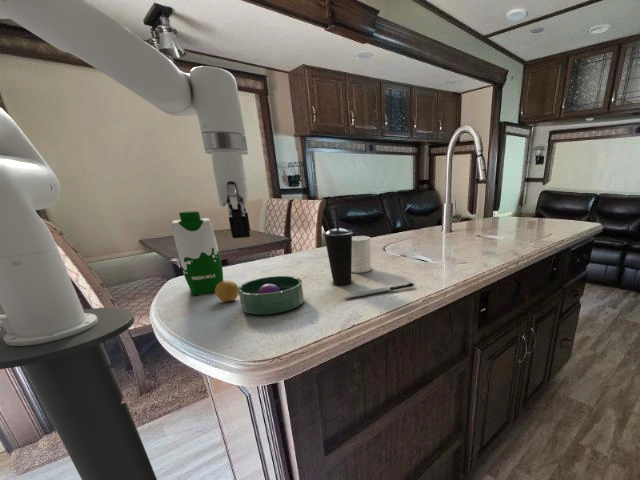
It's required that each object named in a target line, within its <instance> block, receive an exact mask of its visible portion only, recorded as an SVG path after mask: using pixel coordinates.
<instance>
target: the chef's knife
mask: <svg viewBox="0 0 640 480" xmlns="http://www.w3.org/2000/svg"><path fill="white" fill-rule="evenodd" d="M414 286H415V284H414V283H412V282H409V283H407V284H402V285H401V284H400V285H395V286H390V287H389V286H388V287H387V286H384V287H378V288H374V289H369V290H364V291H359V292H356V293H354V294H351V295H348V296H346V297H344V298H343V300H344V299H345V300H346V299H352V298H353V299H354V298H358V297H363V296H369V295H374V294H379V293H385V292H389V291H397V290H400V289H401V290H402V289H406V288H413V287H414Z"/></svg>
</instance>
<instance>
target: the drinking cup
mask: <svg viewBox="0 0 640 480" xmlns="http://www.w3.org/2000/svg"><path fill="white" fill-rule="evenodd" d="M334 218H335V228H330V229H328V230H327V231H325V232H323V233H322V236H323V237H324V241H325V246H326V251H327V257H328V262H329V267H330V272H331V277H332V282H333V285H334V286H348V285H350V284H352V272H351V267H352V237H353V235H354V232H353V231H351V230H349V229H347V228H343V227H340V225H339V224H340V223H339V211H338V207H334Z"/></svg>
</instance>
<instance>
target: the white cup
mask: <svg viewBox="0 0 640 480" xmlns="http://www.w3.org/2000/svg"><path fill="white" fill-rule="evenodd" d="M371 261H372V238H371V237H370V236H366V235H354V236H353V235H352V267H351V273H354V274H359V273H360V274H361V273H368V272H370V271H371V267H372V263H371Z"/></svg>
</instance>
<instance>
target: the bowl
mask: <svg viewBox="0 0 640 480" xmlns="http://www.w3.org/2000/svg"><path fill="white" fill-rule="evenodd" d="M265 284H274V285H276V286H278V287H279V288H280V290H281V291H279V292H273V293H264V294H257V293H258V290H259V289H260V287H261V286H263V285H265ZM238 293H239V295H238V296H239V301H240V306H241V309H242V311H243V312H245V313H246V314H252V315H261V316H265V315H266V316H269V315H275V314H276V315H277V314H281V313H284V312H288V311H291V310H294V309H295V308H297V307H299V306H301V305H302V304H304V302H305V295H304V287H303V281H302V279H301V278H300V277H296V276H289V275H277V276H275V275H274V276H267V277H260V278H255V279H253V280H250V281H246V282H244V283H242V284H241V285H239V286H238Z"/></svg>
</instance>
